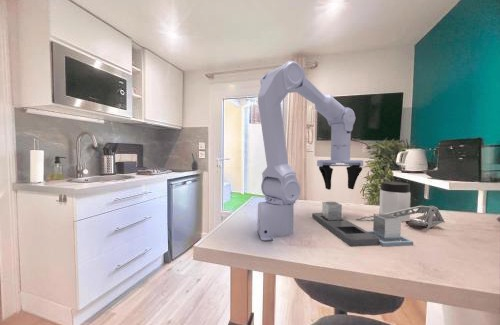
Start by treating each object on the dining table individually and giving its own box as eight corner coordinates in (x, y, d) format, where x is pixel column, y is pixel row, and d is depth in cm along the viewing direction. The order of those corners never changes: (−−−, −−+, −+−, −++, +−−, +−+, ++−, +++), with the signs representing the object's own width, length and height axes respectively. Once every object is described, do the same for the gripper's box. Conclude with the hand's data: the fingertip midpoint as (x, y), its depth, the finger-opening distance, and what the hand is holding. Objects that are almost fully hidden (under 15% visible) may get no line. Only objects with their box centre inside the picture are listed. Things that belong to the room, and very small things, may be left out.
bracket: (445, 223, 63) (428, 191, 64) (371, 249, 68) (357, 219, 68) (438, 220, 66) (422, 189, 67) (368, 245, 71) (354, 217, 71)
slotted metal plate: (350, 250, 50) (350, 239, 50) (312, 220, 72) (312, 213, 71) (379, 249, 50) (379, 238, 50) (332, 220, 72) (333, 212, 72)
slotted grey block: (328, 225, 64) (328, 204, 63) (322, 221, 68) (322, 201, 67) (341, 225, 64) (341, 204, 64) (334, 221, 68) (335, 201, 68)
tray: (382, 250, 50) (382, 242, 50) (362, 238, 57) (362, 231, 57) (413, 249, 51) (413, 241, 50) (389, 236, 58) (389, 230, 58)
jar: (395, 214, 79) (396, 181, 79) (415, 221, 71) (417, 184, 71) (373, 215, 78) (374, 181, 77) (391, 222, 70) (392, 185, 69)
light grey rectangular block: (384, 244, 52) (385, 218, 51) (373, 238, 56) (373, 213, 55) (400, 244, 52) (401, 217, 52) (387, 237, 56) (388, 213, 56)
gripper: (324, 145, 66) (323, 191, 66) (370, 146, 67) (368, 190, 68) (314, 146, 73) (314, 187, 73) (356, 146, 74) (355, 187, 75)
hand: (339, 188), depth 71 cm, fingers open, 7 cm apart
